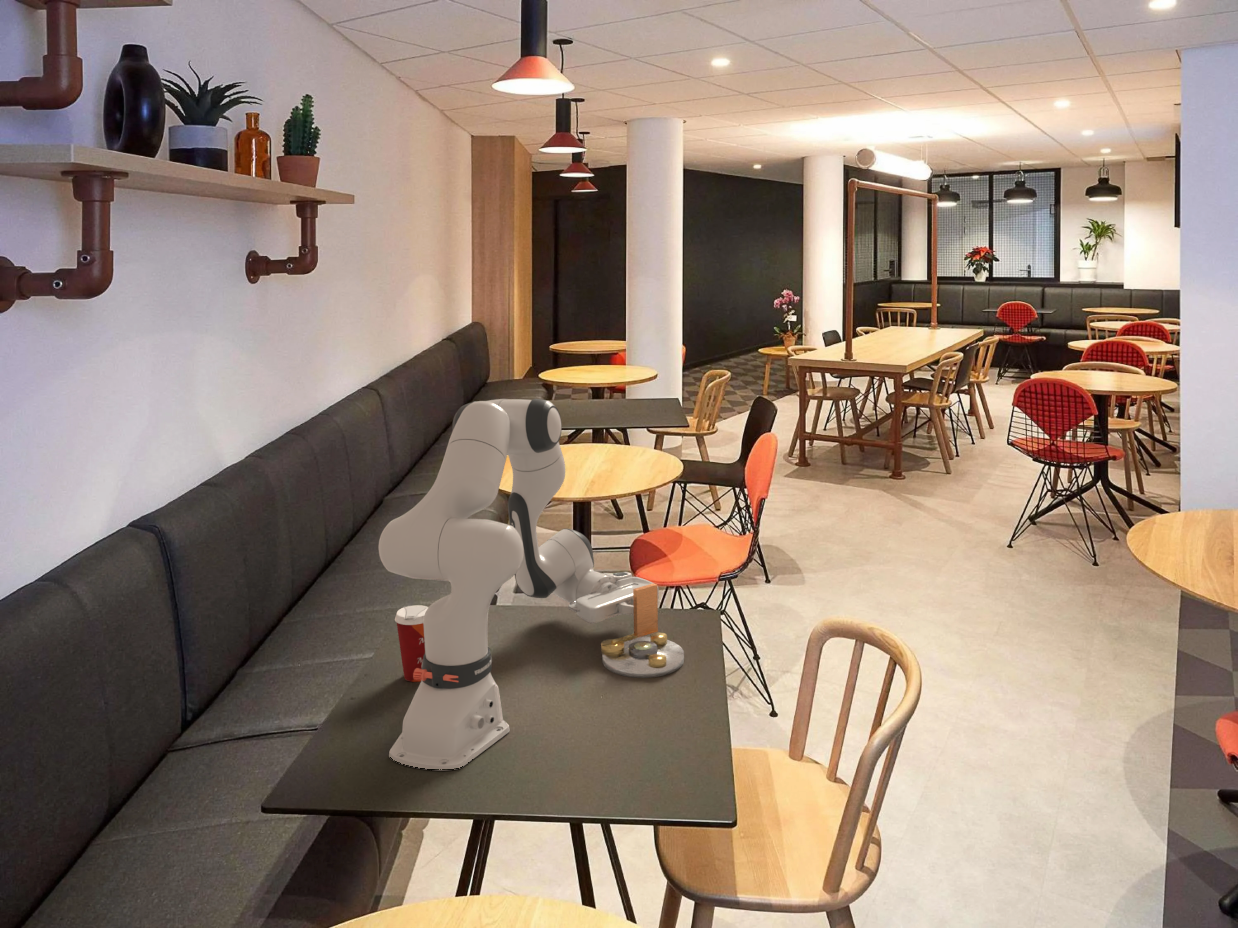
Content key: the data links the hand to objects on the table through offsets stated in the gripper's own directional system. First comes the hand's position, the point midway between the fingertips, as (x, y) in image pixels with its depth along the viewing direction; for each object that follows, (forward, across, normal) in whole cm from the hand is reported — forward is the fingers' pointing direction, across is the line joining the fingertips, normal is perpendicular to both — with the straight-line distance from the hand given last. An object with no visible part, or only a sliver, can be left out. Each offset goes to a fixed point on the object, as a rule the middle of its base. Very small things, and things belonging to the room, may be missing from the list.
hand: (642, 610), depth 203 cm
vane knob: (0, -4, +7) cm, 8 cm away
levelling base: (+4, -4, +8) cm, 10 cm away
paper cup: (-22, -42, +9) cm, 48 cm away
